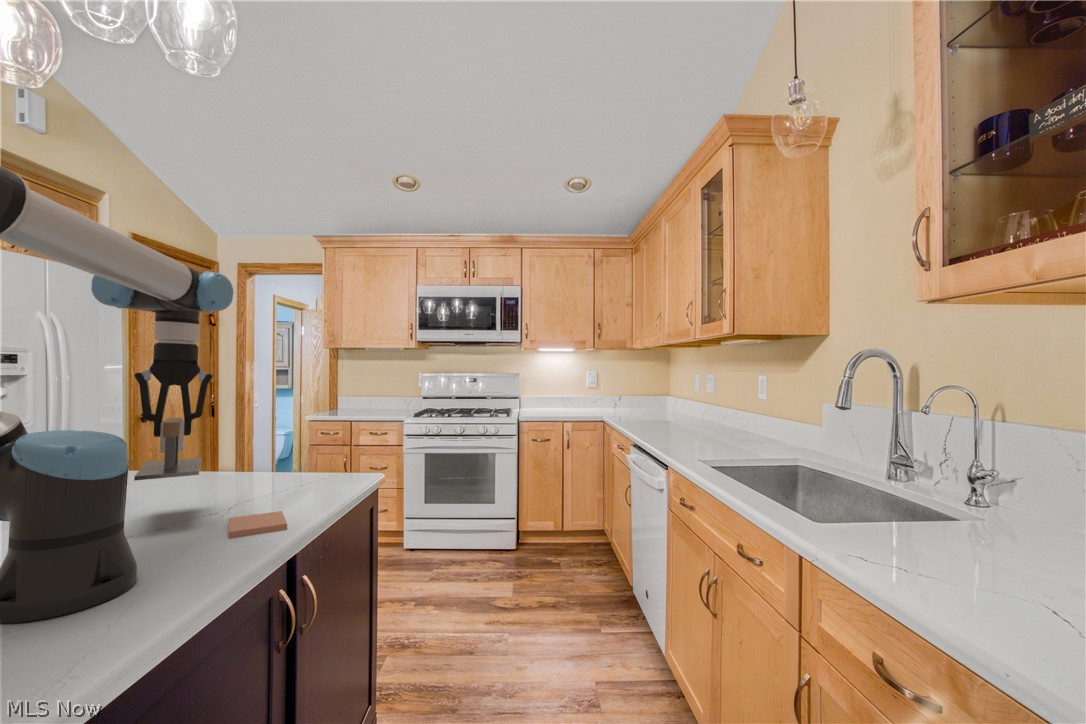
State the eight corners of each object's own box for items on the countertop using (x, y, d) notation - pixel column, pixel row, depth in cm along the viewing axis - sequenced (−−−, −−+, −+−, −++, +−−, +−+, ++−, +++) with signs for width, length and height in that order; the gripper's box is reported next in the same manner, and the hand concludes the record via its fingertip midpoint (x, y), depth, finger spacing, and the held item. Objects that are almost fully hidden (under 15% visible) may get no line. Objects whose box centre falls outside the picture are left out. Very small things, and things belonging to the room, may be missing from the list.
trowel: (198, 474, 93) (201, 422, 94) (134, 480, 88) (136, 425, 88) (201, 461, 106) (203, 415, 107) (145, 465, 101) (147, 417, 101)
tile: (281, 518, 102) (286, 531, 94) (228, 526, 96) (228, 540, 88) (282, 510, 102) (287, 523, 94) (228, 518, 96) (228, 532, 88)
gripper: (220, 345, 105) (216, 445, 105) (131, 341, 96) (126, 451, 96) (220, 344, 99) (216, 451, 98) (125, 339, 90) (120, 457, 89)
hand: (172, 451), depth 97 cm, fingers closed on trowel, 2 cm apart
